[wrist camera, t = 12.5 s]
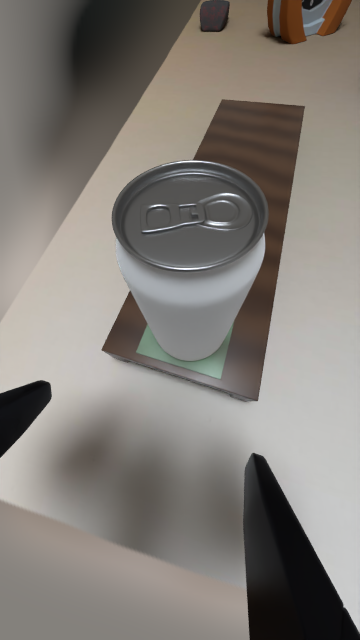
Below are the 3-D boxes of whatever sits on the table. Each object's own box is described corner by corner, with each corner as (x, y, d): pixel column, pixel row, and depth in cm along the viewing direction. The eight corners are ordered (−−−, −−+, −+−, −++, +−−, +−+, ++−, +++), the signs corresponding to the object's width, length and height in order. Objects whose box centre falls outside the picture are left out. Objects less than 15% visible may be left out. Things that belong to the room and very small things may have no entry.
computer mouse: (197, 31, 59) (198, 7, 56) (205, 16, 65) (206, -7, 61) (224, 31, 58) (226, 6, 55) (230, 16, 63) (233, -8, 60)
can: (231, 358, 17) (310, 270, 6) (156, 366, 17) (91, 292, 6) (219, 293, 19) (256, 145, 8) (153, 299, 19) (105, 162, 8)
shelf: (246, 401, 19) (258, 401, 15) (114, 358, 21) (100, 349, 18) (294, 132, 36) (305, 104, 33) (219, 124, 38) (222, 97, 35)
